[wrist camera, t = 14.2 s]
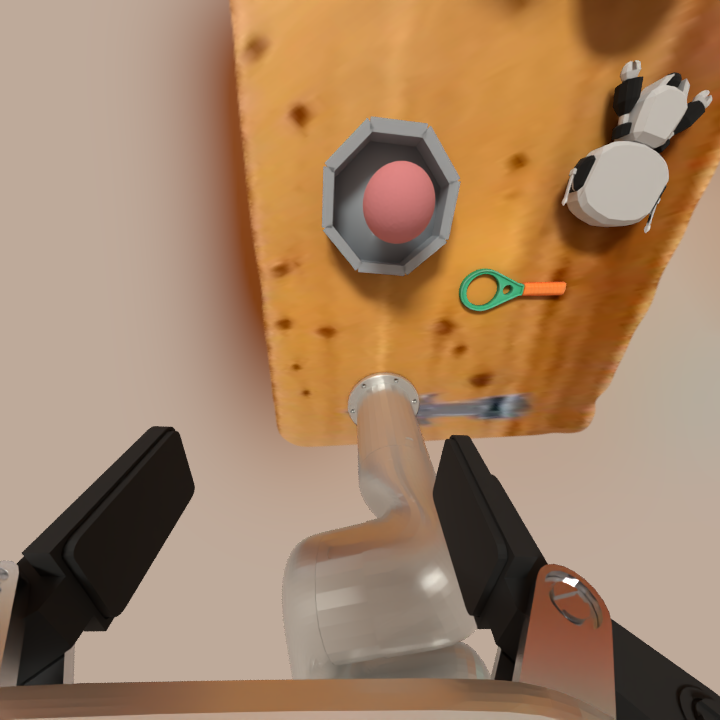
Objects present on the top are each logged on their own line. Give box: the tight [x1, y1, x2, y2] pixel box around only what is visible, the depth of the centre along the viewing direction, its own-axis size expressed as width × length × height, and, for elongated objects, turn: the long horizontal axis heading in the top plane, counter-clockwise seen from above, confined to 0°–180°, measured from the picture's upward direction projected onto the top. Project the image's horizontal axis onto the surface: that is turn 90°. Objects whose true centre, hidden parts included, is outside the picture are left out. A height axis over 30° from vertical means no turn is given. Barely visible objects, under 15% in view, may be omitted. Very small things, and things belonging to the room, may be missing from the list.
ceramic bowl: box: [322, 117, 460, 276], centre depth 33 cm, size 15×15×4 cm
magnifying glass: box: [459, 269, 566, 311], centre depth 40 cm, size 15×6×2 cm, turn 91°
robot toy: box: [562, 60, 712, 233], centre depth 32 cm, size 12×4×15 cm
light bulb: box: [363, 161, 435, 244], centre depth 29 cm, size 7×7×12 cm
